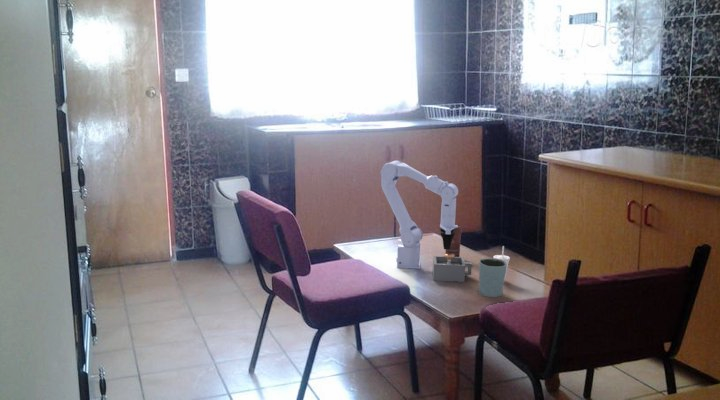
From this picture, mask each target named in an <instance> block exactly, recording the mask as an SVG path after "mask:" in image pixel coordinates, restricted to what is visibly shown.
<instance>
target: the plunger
mask: <svg viewBox="0 0 720 400" xmlns="http://www.w3.org/2000/svg"><path fill="white" fill-rule="evenodd" d="M443 256H444V258H446V259H448V262H447V263H444V262H437V264H452V265H460V264H459V263H451V259H454V256H455V255H454V254H452V253H446V254H445V253H444V255H443Z"/></svg>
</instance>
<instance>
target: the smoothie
mask: <svg viewBox="0 0 720 400" xmlns="http://www.w3.org/2000/svg"><path fill="white" fill-rule="evenodd" d="M504 251H505V246H504V245H502V251H501V254H496V255H493V258H492V259H499V260H502V261H505V262H506V263H507V268H506V273H505V278H504V283H505V282H506V277H507V273H508V267H509V261H510V260H511V257H510V256H508V255H505V253H504Z"/></svg>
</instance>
